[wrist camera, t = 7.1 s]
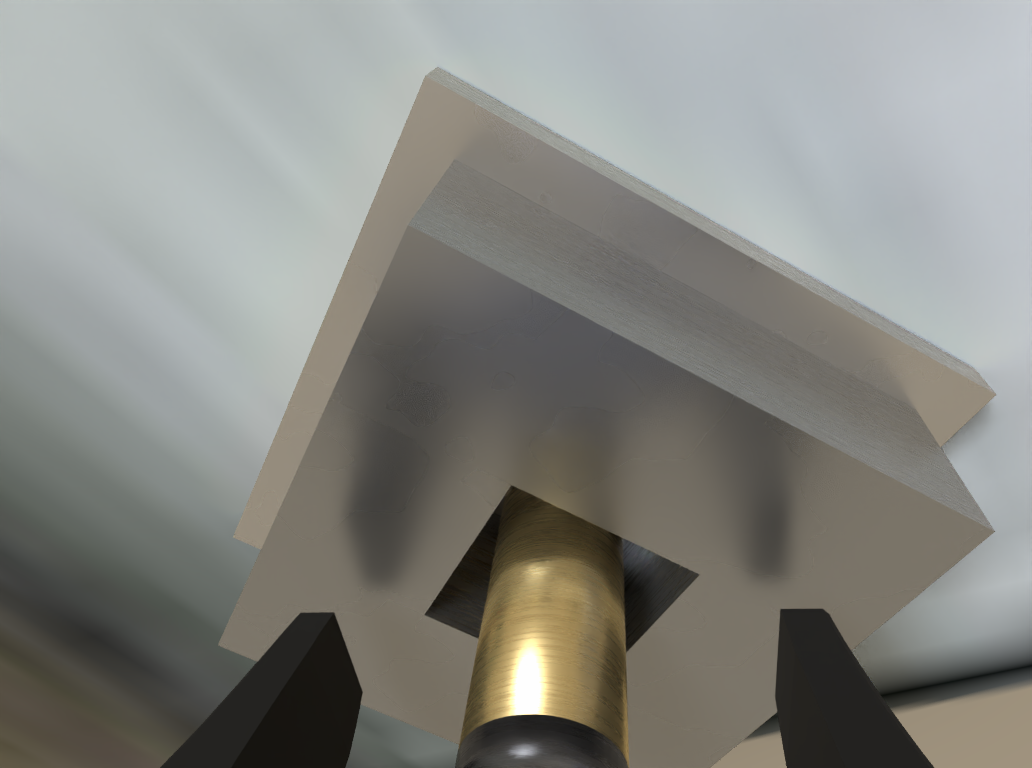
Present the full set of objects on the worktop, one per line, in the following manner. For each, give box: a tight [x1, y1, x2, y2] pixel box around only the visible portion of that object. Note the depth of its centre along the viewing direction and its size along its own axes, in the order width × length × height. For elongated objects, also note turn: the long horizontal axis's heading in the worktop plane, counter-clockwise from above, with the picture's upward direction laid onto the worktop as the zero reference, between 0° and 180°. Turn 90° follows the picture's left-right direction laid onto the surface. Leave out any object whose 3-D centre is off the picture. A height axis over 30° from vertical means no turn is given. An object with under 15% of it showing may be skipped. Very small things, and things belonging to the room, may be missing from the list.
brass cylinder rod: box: [455, 485, 629, 768], centre depth 13 cm, size 2×2×8 cm
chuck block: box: [218, 67, 996, 768], centre depth 15 cm, size 12×12×4 cm
